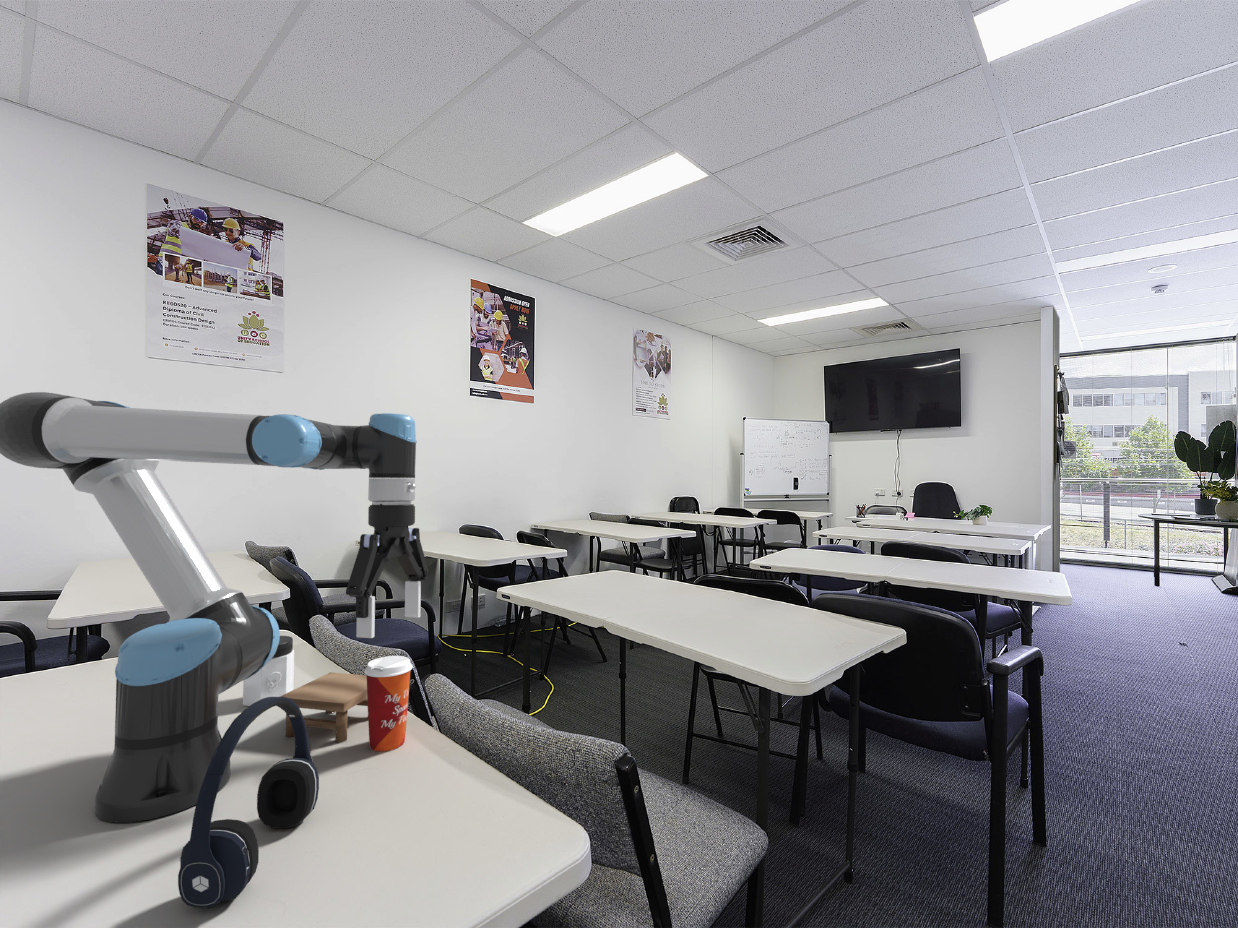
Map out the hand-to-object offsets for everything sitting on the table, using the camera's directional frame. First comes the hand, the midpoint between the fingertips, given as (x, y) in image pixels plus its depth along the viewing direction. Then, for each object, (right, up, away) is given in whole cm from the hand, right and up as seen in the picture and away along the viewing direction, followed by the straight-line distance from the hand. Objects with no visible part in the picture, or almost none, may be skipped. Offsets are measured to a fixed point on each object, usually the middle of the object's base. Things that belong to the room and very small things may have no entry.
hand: (390, 626), depth 97 cm
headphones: (-4, -19, -30) cm, 36 cm away
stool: (-13, -20, +6) cm, 25 cm away
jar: (-32, -21, +18) cm, 42 cm away
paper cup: (0, -20, -1) cm, 20 cm away
